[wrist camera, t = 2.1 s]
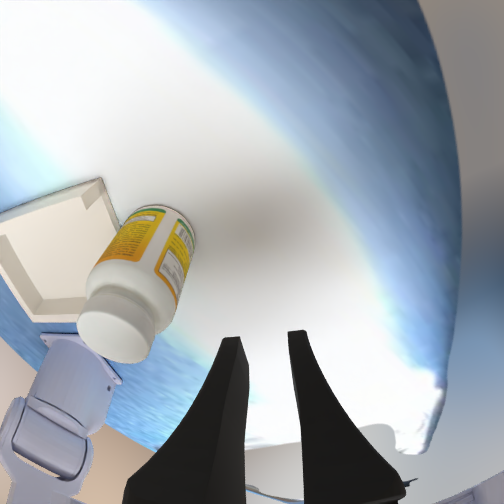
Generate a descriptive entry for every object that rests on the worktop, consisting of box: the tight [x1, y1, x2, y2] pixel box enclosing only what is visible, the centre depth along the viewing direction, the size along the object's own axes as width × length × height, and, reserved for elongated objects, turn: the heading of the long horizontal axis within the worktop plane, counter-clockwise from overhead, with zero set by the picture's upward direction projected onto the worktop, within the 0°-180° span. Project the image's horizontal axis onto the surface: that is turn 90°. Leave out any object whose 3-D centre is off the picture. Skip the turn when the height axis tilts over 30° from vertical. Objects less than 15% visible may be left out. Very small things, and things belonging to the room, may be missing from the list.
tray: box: [0, 178, 121, 322], centre depth 21 cm, size 11×13×3 cm
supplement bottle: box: [77, 206, 195, 364], centre depth 17 cm, size 5×5×10 cm
